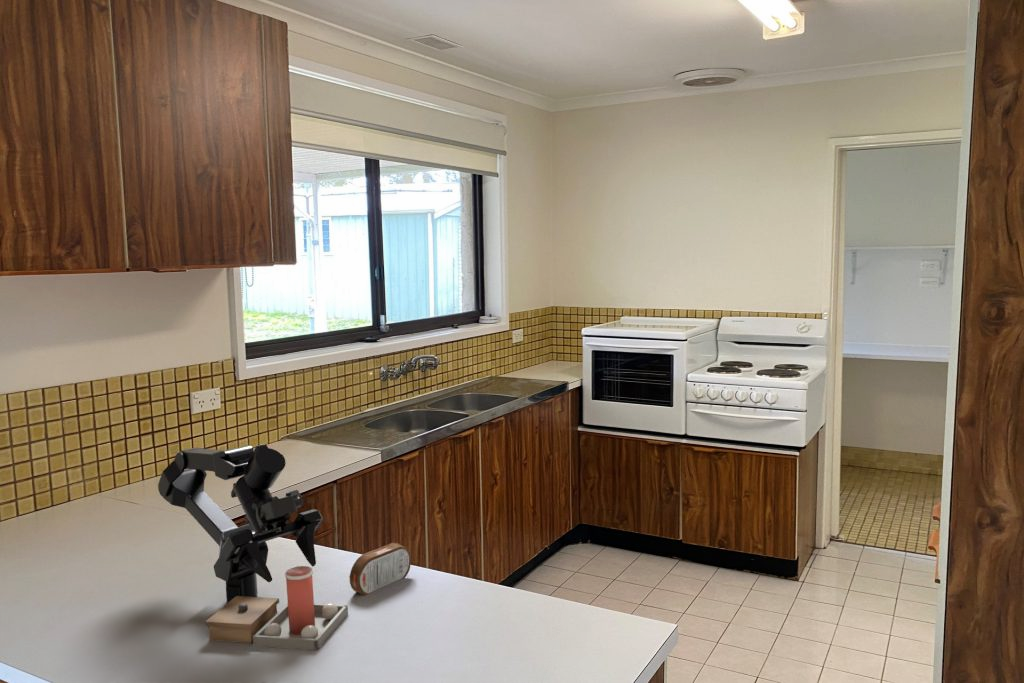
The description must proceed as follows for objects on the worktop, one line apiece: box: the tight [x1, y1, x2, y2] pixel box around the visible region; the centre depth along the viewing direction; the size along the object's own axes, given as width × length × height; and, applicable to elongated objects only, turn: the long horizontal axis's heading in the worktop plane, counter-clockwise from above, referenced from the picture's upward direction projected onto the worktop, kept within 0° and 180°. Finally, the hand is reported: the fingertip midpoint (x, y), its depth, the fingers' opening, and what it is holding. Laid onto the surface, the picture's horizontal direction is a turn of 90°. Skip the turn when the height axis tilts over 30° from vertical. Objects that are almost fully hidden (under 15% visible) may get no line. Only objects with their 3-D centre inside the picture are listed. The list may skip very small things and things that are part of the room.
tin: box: [349, 542, 412, 596], centre depth 165 cm, size 15×3×8 cm, turn 141°
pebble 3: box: [322, 602, 338, 620], centre depth 149 cm, size 3×3×3 cm
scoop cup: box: [284, 565, 315, 635], centre depth 145 cm, size 5×5×11 cm
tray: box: [252, 602, 349, 651], centre depth 146 cm, size 14×12×2 cm
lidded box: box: [204, 596, 280, 644], centre depth 147 cm, size 11×9×5 cm
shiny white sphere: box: [264, 623, 282, 636], centre depth 142 cm, size 3×3×3 cm
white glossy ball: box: [301, 625, 318, 639], centre depth 141 cm, size 3×3×3 cm
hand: (293, 573), depth 146 cm, fingers open, 9 cm apart
